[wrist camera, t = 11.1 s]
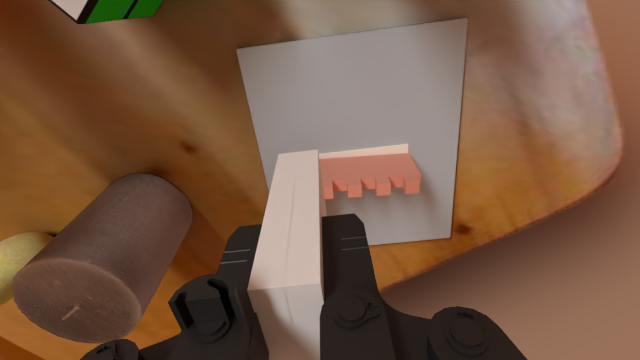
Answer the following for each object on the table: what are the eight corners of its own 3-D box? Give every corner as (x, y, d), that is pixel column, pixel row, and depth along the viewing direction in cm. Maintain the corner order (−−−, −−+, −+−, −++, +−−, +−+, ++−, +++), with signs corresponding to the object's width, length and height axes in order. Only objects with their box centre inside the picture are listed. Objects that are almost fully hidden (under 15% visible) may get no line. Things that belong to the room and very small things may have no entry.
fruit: (6, 234, 40) (-106, 319, 29) (48, 208, 38) (-55, 289, 28) (52, 270, 43) (-35, 359, 32) (93, 248, 41) (15, 334, 31)
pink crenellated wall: (313, 159, 34) (312, 188, 29) (408, 153, 34) (424, 180, 28) (314, 169, 34) (313, 199, 29) (408, 163, 34) (423, 192, 29)
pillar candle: (119, 241, 40) (26, 358, 27) (95, 170, 36) (-31, 271, 23) (199, 242, 41) (145, 359, 28) (187, 172, 36) (114, 273, 23)
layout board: (283, 249, 41) (283, 254, 40) (237, 48, 30) (235, 49, 29) (447, 233, 40) (450, 238, 39) (464, 17, 29) (469, 18, 28)
